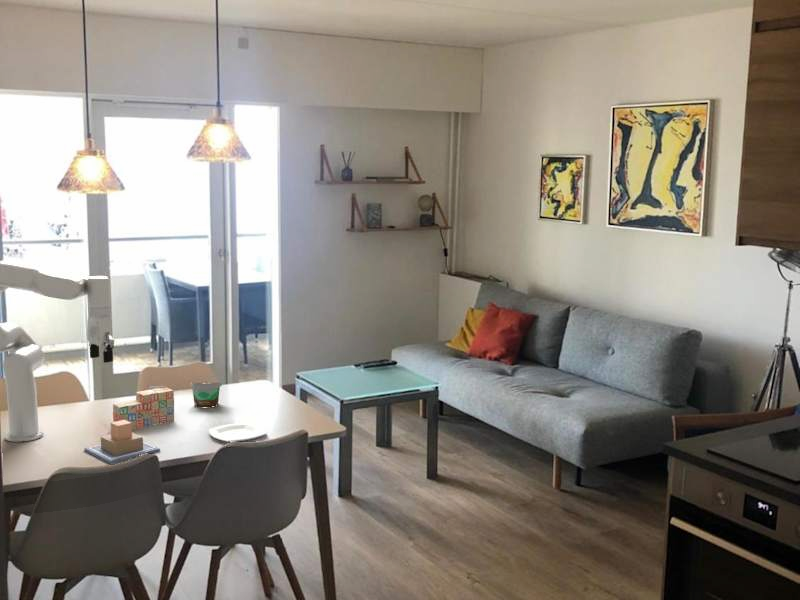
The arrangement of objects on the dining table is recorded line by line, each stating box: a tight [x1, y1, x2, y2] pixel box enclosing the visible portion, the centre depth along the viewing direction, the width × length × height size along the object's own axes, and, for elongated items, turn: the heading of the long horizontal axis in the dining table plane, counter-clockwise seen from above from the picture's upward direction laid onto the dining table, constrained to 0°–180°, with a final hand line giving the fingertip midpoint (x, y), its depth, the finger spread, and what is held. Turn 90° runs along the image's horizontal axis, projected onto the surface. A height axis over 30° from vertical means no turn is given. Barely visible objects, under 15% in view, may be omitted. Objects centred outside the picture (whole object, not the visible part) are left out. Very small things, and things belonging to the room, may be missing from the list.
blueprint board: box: [83, 432, 161, 465], centre depth 286 cm, size 18×18×5 cm
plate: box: [208, 422, 268, 443], centre depth 305 cm, size 19×19×2 cm
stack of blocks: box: [112, 387, 175, 430], centre depth 316 cm, size 21×6×12 cm, turn 130°
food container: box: [189, 380, 222, 408], centre depth 340 cm, size 12×6×10 cm, turn 104°
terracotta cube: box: [110, 420, 133, 440], centre depth 285 cm, size 5×5×5 cm
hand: (101, 359), depth 297 cm, fingers open, 9 cm apart
